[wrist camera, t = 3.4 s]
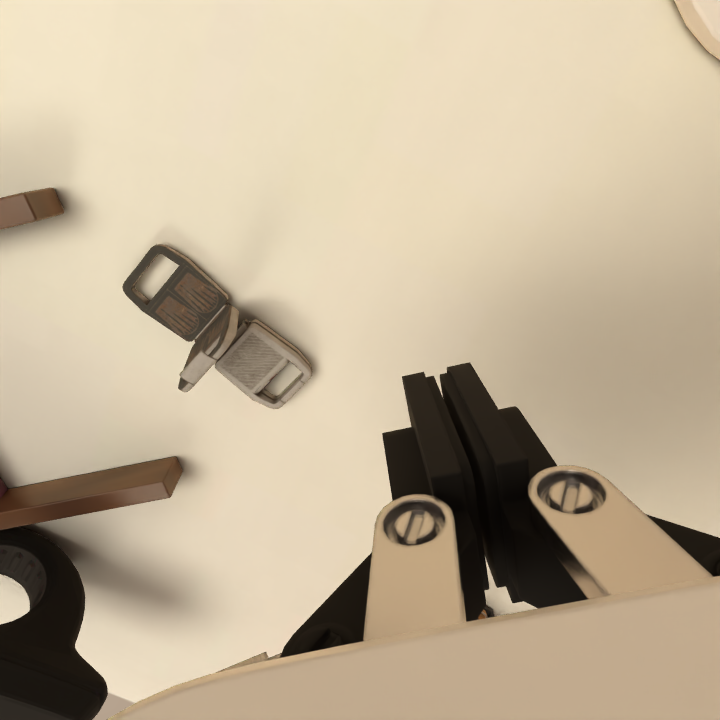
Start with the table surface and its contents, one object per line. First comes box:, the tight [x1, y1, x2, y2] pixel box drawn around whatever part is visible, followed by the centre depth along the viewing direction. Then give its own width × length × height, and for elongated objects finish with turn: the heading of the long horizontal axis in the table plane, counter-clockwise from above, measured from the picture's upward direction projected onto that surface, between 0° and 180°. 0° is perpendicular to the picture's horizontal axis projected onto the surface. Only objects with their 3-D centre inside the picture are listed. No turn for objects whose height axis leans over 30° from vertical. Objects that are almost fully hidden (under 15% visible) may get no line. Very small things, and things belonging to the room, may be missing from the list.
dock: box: [0, 188, 183, 530], centre depth 21 cm, size 10×14×2 cm
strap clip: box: [123, 244, 312, 409], centre depth 20 cm, size 8×3×4 cm, turn 46°
